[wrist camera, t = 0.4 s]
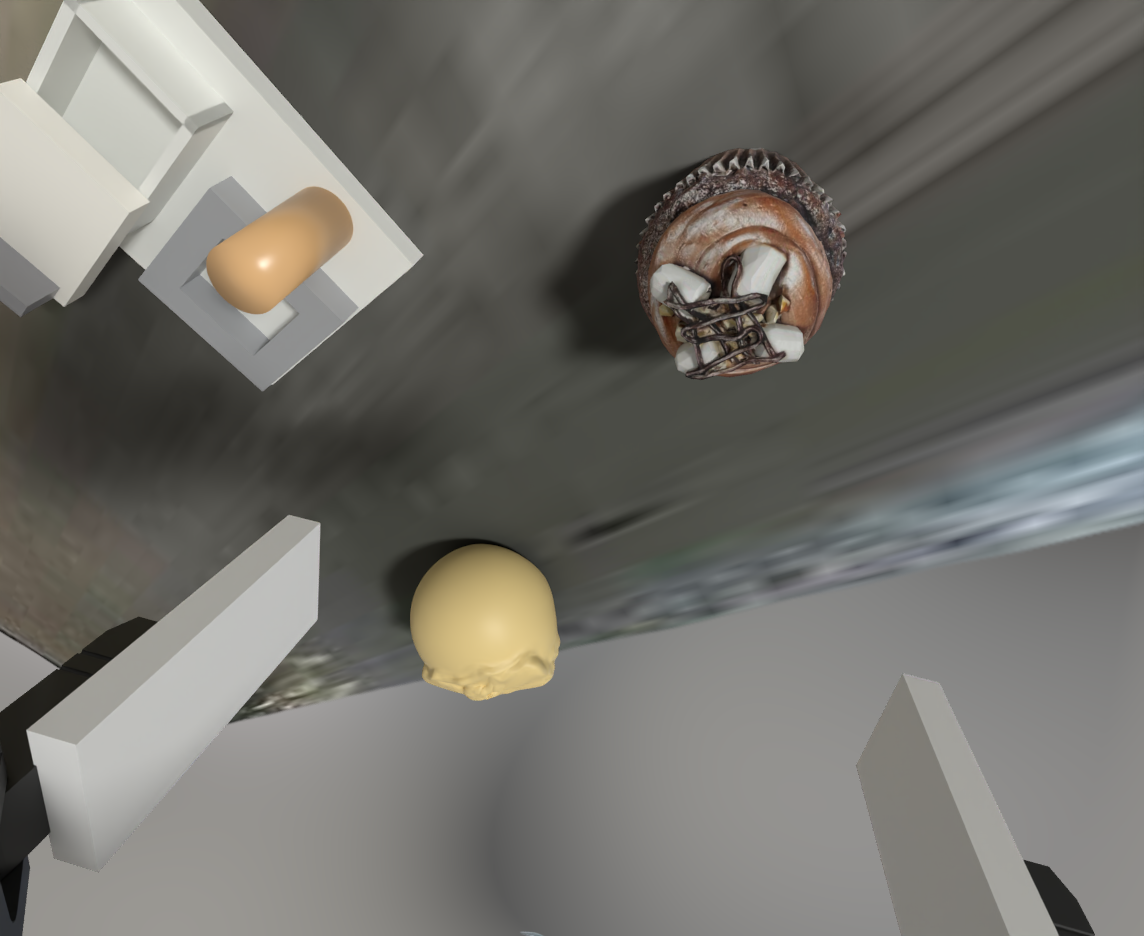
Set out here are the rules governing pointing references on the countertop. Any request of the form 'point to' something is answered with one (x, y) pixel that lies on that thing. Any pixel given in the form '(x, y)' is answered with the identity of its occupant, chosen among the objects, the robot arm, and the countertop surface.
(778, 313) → the cupcake
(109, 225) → the lid
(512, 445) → the countertop surface
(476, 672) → the sculpture
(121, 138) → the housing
